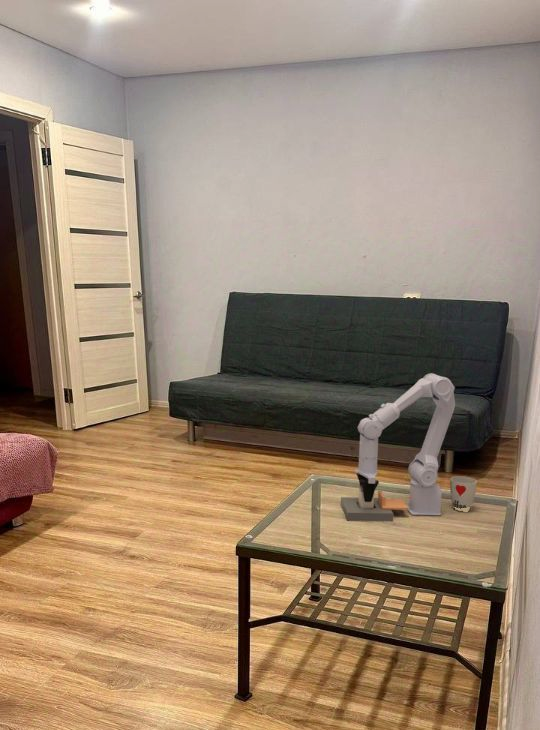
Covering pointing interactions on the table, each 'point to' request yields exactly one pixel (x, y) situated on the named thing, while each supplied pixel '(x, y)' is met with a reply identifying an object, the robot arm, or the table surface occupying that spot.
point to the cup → (462, 491)
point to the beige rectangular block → (361, 500)
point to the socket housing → (364, 511)
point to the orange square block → (391, 503)
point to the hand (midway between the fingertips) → (366, 498)
